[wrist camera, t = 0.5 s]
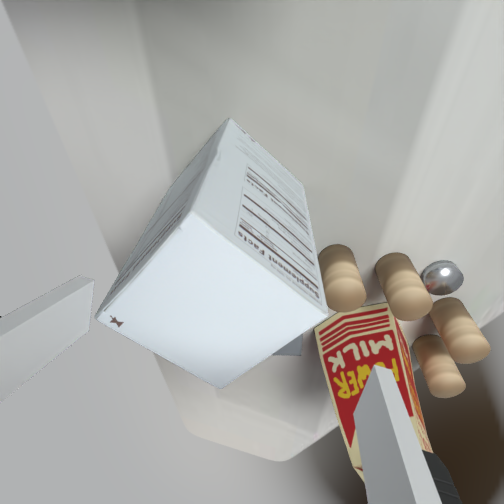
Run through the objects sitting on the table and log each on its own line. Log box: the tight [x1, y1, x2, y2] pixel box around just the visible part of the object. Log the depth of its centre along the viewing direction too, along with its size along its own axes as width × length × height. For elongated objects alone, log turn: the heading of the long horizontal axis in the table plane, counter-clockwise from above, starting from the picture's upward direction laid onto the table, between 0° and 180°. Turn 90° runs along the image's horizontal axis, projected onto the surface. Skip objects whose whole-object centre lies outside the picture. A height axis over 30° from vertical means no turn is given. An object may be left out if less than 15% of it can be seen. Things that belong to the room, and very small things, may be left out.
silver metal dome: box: [421, 260, 464, 295], centre depth 36 cm, size 4×4×2 cm
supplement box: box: [95, 118, 329, 389], centre depth 25 cm, size 10×9×17 cm
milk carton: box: [314, 302, 433, 482], centre depth 34 cm, size 9×9×20 cm
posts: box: [318, 244, 490, 398], centre depth 36 cm, size 22×8×6 cm, turn 46°
